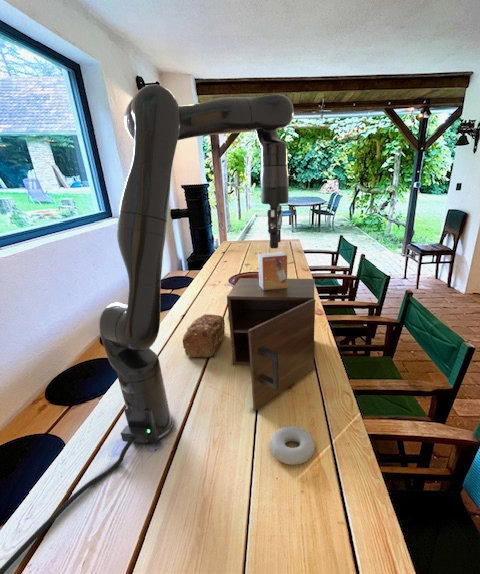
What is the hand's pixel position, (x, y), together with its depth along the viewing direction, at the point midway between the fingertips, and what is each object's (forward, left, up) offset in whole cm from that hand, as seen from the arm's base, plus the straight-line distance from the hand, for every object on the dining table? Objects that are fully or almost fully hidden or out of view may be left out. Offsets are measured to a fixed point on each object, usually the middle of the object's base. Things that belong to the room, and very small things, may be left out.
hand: (275, 245), depth 94 cm
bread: (+6, +27, -38) cm, 47 cm away
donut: (-40, -8, -38) cm, 56 cm away
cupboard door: (-19, -6, -38) cm, 43 cm away
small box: (+3, +1, -14) cm, 15 cm away
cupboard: (+3, +1, -38) cm, 38 cm away
